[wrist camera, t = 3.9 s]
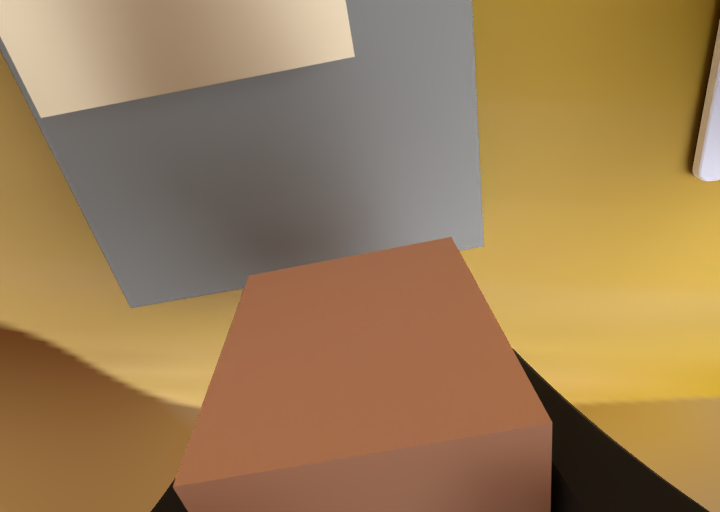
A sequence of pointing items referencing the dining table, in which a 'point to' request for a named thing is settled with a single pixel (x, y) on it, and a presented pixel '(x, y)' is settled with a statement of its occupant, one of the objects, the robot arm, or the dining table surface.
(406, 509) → the terracotta brick
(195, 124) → the baseplate
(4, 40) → the birch block
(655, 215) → the dining table surface
